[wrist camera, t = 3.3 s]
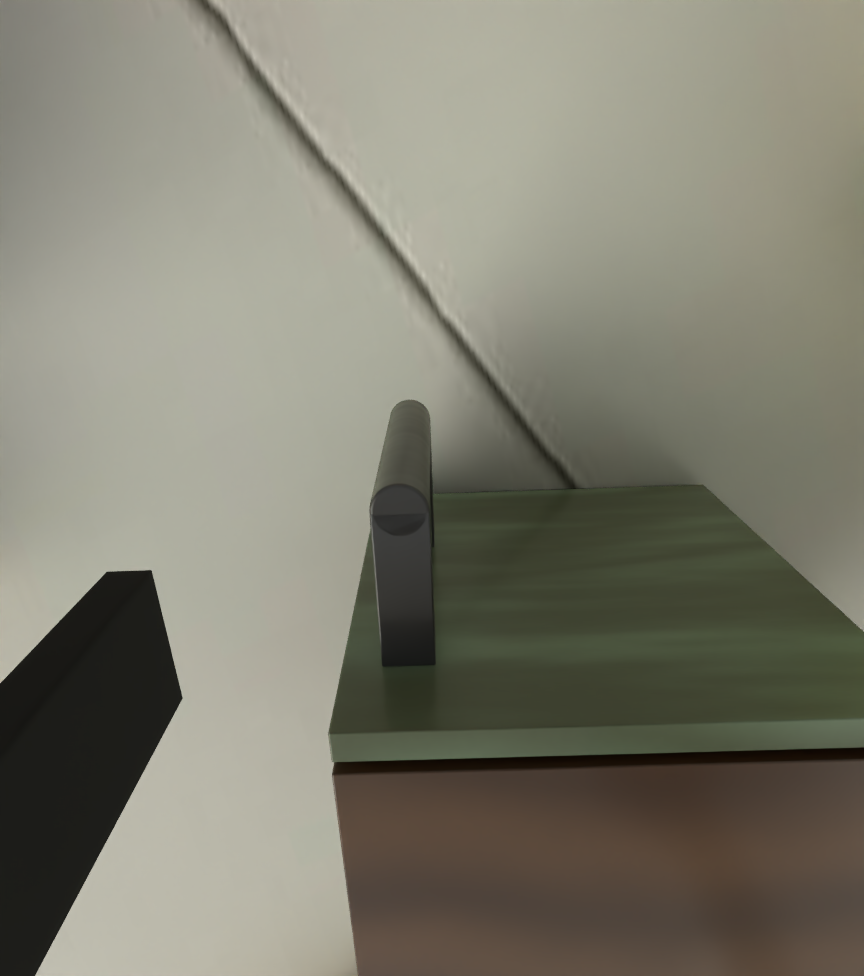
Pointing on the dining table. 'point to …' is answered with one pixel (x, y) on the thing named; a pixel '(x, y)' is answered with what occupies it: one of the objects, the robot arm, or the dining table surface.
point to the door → (580, 626)
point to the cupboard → (606, 864)
